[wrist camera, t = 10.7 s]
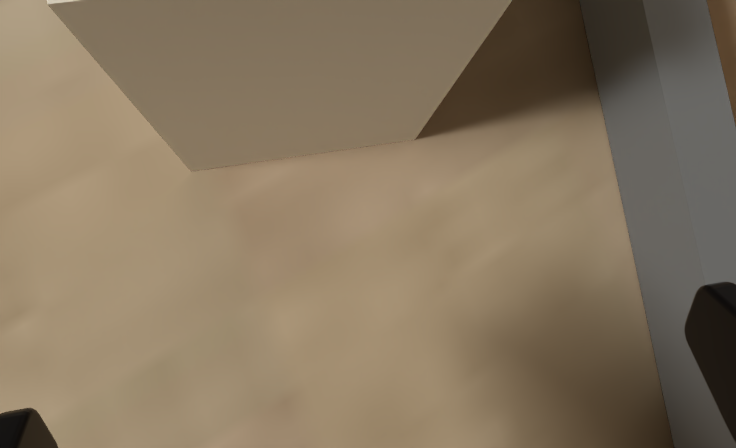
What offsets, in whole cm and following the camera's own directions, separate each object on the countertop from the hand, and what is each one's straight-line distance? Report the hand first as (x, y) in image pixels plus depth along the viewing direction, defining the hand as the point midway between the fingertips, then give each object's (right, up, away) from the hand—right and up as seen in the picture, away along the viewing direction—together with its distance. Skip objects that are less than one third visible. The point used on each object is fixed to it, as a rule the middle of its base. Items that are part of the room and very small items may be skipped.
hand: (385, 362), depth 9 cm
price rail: (+7, +5, +10) cm, 13 cm away
